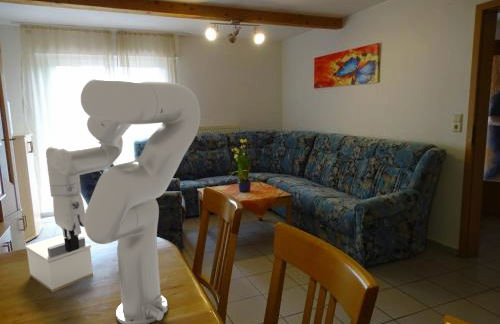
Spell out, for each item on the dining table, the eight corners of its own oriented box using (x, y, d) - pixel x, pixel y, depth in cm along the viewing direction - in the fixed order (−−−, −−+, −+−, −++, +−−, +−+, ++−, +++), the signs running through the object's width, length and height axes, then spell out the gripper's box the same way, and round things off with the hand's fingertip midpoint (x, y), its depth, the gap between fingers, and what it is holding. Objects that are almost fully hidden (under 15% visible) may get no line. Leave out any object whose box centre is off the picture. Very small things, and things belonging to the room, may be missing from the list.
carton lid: (91, 247, 105) (89, 237, 105) (48, 262, 95) (46, 251, 95) (66, 235, 115) (65, 226, 114) (25, 248, 105) (24, 238, 105)
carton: (93, 275, 107) (90, 248, 105) (52, 292, 97) (48, 263, 96) (69, 261, 116) (66, 236, 115) (30, 275, 107) (26, 249, 105)
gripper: (92, 190, 94) (98, 252, 97) (67, 182, 103) (73, 239, 106) (64, 196, 88) (71, 261, 91) (40, 188, 97) (47, 248, 100)
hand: (72, 249), depth 99 cm, fingers closed
